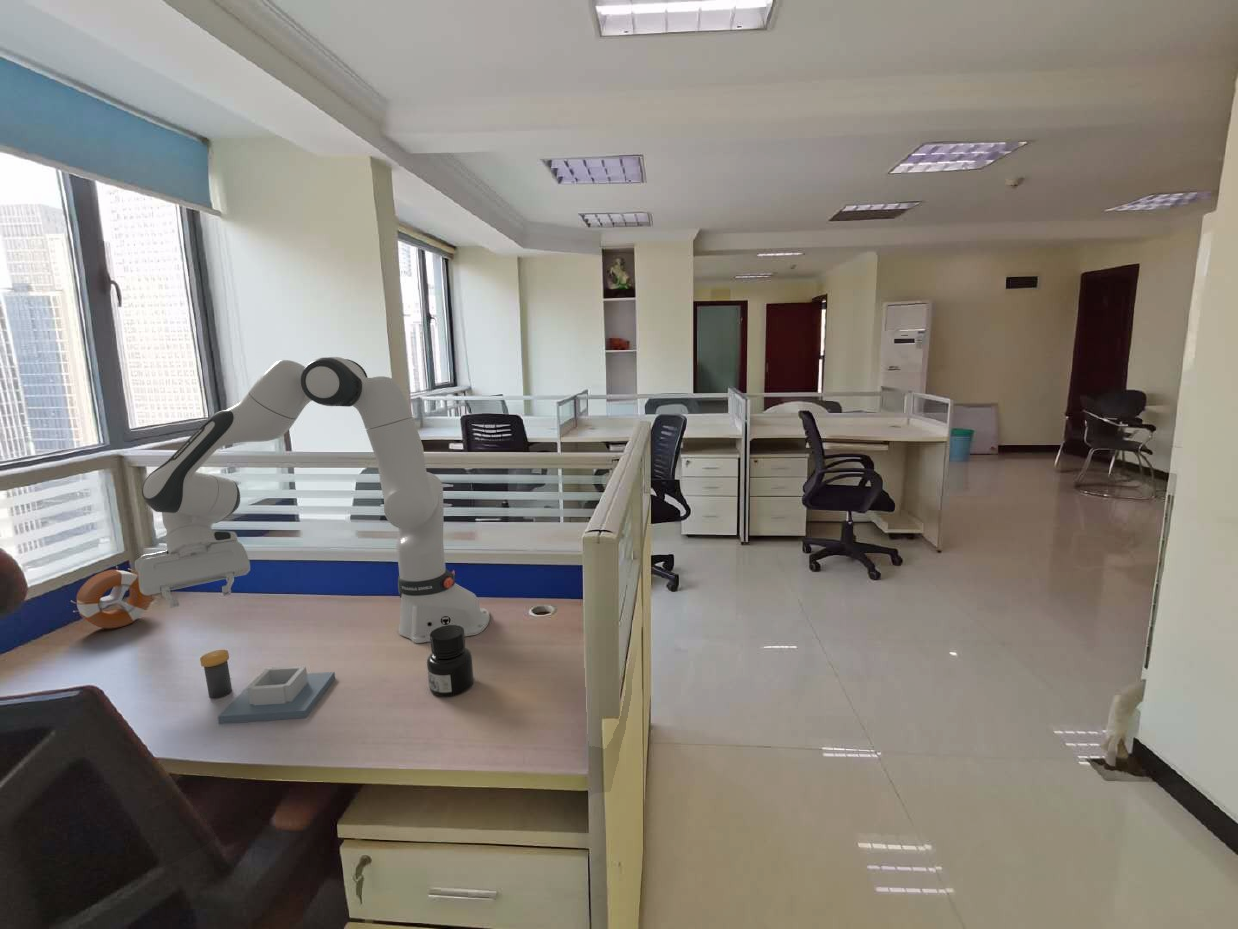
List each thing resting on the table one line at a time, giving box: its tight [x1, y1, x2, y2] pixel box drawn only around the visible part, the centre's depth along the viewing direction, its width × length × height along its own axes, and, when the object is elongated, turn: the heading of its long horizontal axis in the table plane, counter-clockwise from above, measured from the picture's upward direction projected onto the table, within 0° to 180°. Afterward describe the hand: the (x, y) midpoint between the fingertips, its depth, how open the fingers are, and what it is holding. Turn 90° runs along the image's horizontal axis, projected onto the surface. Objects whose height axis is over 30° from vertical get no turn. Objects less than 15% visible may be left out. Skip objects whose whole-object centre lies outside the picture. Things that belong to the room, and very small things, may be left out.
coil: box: [70, 566, 153, 630], centre depth 154 cm, size 7×15×15 cm, turn 148°
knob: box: [199, 649, 233, 700], centre depth 121 cm, size 5×5×8 cm
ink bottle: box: [426, 625, 474, 698], centre depth 121 cm, size 10×9×12 cm
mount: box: [217, 665, 336, 725], centre depth 118 cm, size 16×14×5 cm
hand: (201, 600), depth 128 cm, fingers open, 8 cm apart
